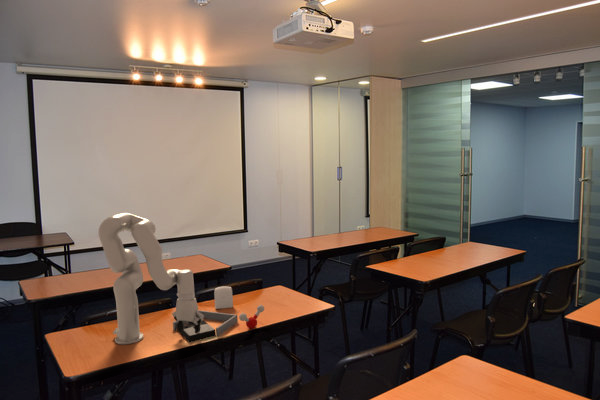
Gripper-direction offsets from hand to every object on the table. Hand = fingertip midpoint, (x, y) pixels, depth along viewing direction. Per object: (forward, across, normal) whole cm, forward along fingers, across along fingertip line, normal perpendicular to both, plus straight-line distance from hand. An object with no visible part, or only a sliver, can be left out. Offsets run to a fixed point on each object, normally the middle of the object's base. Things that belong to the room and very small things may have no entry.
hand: (189, 331), depth 205 cm
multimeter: (+4, -1, +6) cm, 8 cm away
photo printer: (+4, -7, +43) cm, 44 cm away
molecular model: (+4, +23, +20) cm, 31 cm away
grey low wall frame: (+4, -1, +15) cm, 15 cm away
